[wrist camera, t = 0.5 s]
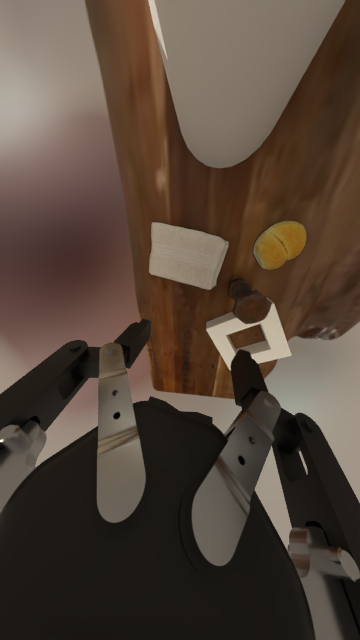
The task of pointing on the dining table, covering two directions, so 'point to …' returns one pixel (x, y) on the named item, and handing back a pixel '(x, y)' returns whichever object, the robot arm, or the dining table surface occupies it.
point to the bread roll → (279, 244)
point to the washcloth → (186, 255)
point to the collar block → (259, 351)
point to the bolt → (248, 302)
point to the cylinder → (236, 67)
